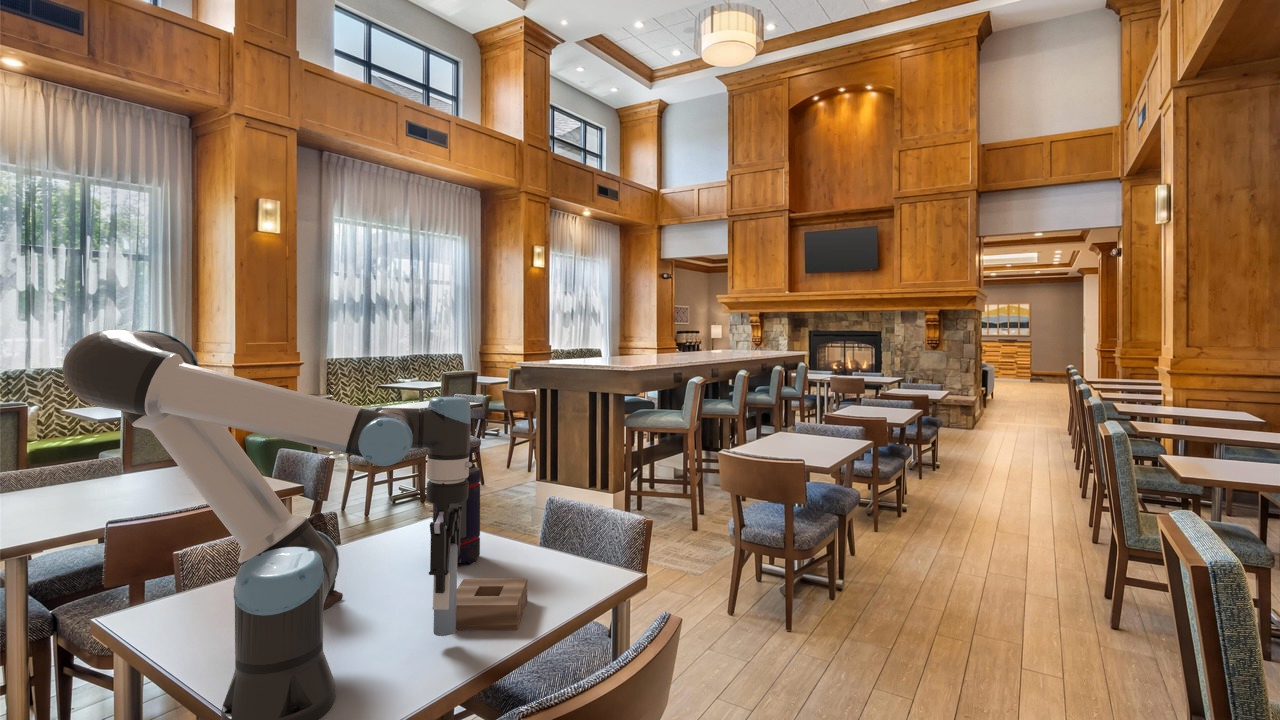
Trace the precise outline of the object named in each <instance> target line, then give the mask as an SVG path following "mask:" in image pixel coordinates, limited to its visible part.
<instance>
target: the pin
mask: <svg viewBox="0 0 1280 720" xmlns="http://www.w3.org/2000/svg"><path fill="white" fill-rule="evenodd" d="M457 556H458V545H457V544H453V543H450V554H449V567H448V573H450V587H449V608H448V610H440V609H433V634H434V635H435V636H438V637H446V636H451V635H452V634H454V633H455V632H456V631H457V630H456V599H457V588H458V586H457V585H458V563H457Z"/></svg>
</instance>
